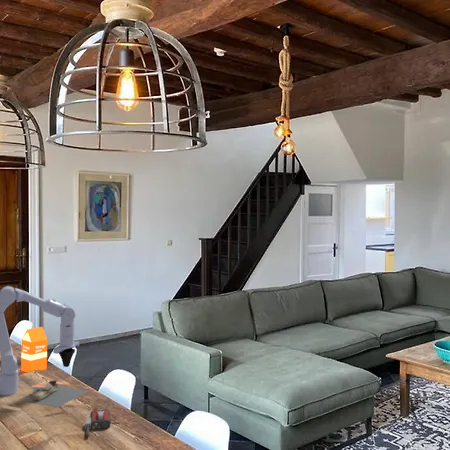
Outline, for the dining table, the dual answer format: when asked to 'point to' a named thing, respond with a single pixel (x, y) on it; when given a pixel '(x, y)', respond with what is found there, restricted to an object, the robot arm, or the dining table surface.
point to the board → (57, 396)
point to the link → (45, 391)
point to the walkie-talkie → (98, 420)
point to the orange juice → (34, 350)
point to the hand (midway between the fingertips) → (66, 366)
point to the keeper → (40, 387)
